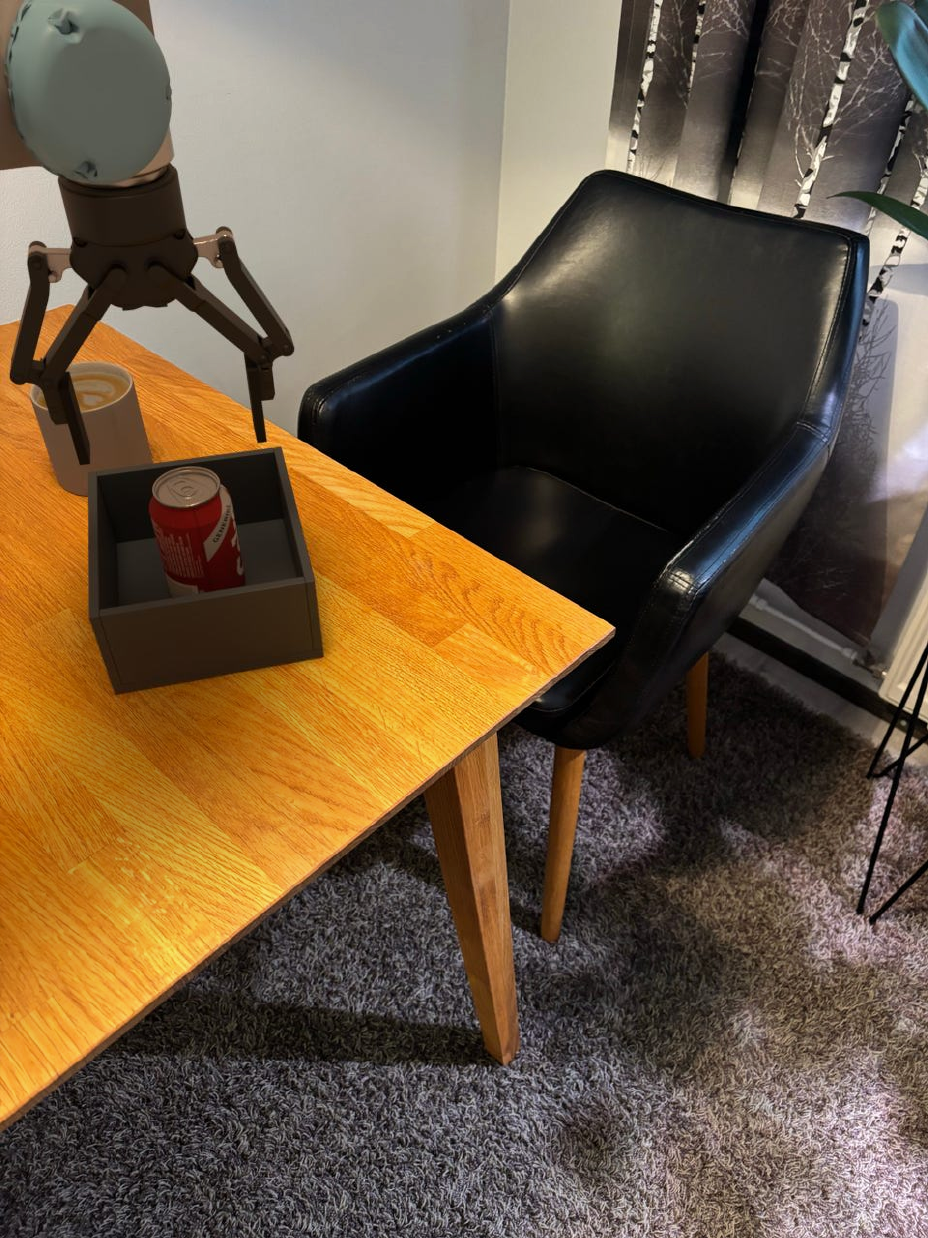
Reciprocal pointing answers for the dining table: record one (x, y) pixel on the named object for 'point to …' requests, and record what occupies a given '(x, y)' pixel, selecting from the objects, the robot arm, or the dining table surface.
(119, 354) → the dining table surface
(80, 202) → the robot arm
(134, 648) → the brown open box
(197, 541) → the soda can
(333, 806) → the dining table surface
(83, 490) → the coffee mug
